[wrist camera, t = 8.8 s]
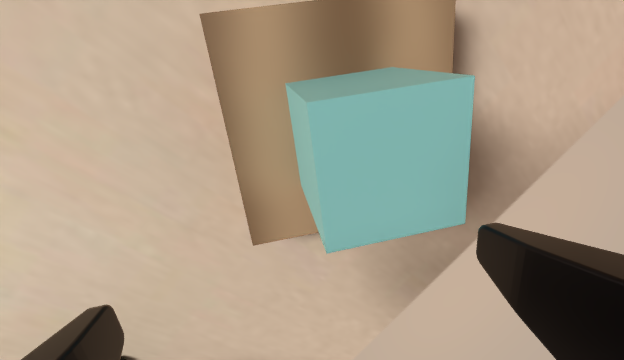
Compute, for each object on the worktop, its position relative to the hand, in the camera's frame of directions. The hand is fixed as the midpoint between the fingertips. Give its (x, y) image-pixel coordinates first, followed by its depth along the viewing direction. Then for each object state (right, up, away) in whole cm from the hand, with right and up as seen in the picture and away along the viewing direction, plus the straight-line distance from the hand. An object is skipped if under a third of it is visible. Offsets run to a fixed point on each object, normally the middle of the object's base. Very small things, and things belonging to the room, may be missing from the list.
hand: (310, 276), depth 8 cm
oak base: (+1, +6, +10) cm, 12 cm away
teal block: (+2, +5, +8) cm, 9 cm away
